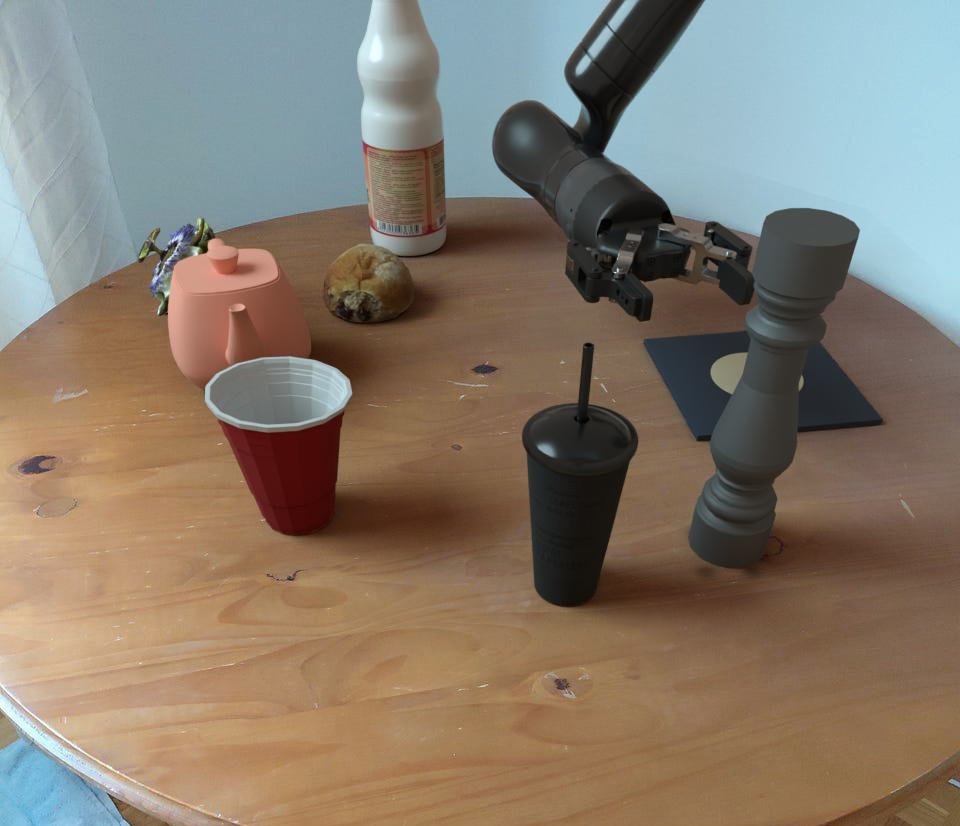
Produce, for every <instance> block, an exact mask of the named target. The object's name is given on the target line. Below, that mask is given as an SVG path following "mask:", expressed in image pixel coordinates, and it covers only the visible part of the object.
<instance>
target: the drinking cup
mask: <svg viewBox="0 0 960 826" xmlns="http://www.w3.org/2000/svg"><path fill="white" fill-rule="evenodd" d="M594 355H595V344H594V343H593V342H589V341H588V342H585V343H583V344H582V355H581V364H580V375H579V376H580V377H579V387H578V388H579V389H578V398H577V399H578V400H577V402H571V403H562V404H561V403H560V404H556V405H552V406H549V407H546V408H542V409H541V410H539V411H537V412H536V413H534V414H533V415H532V416H531V417H530V418H528V420H526V422H525V424H524V426H523V428H522V431H521V432H522V433H521V442H522V446H523V448H524V450H525V452H526V465H527V483H528V502H529V516H530V517H529V518H530V533H531V535H530V536H531V552H532V568H533V586H534V588H535V591H536V593H537V595H538V596H539V597H540V598H542V599H543V601H546V602H548V603H549V604H552V605H555V606H559V607H577V606H580V605H583V604H586V603H587V602H589V601H590V600H591V599H592V598H593V597H594V596H595V594H596V592H597V589H598V585H599V581H600V578H601V574H602V570H603V566H604V562H605V558H606V556H607V555H606V554H607V551H608V547H609V543H610V540H611V536H612V532H613V528H614V524H615V521H616V516H617V513H618V508H619V505H620V500H621V497H622V494H623V490H624V485H625V482H626V477H627V474H628V470H629V466H630V462H631V460H632V459H633V457H634V456H635V455H636V454H637V451H638V447H639V435H638V431H637V429H636V427H635V426H634V425H633V423H632V422H631V421H630V420H629V419H628V418H626V417H625V416H624V415H623V414H620V413H619V412H617V411H615V410H613V409H610V408H607V407H605V406H601V405H596V404H592V403H590V393H591V384H592V383H591V382H592V375H593V374H592V373H593V365H594V364H593V363H594Z"/></svg>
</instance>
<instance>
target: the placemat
mask: <svg viewBox="0 0 960 826" xmlns="http://www.w3.org/2000/svg"><path fill="white" fill-rule="evenodd" d="M750 342H751V338H750V336H749V334H748V333H747V331H746V330H740V331H729V332H715V333H714V332H713V333H704V334H703V333H702V334H689V335H676V336H663V337H651V338H649V337H648V338H643V346H644V348H645V350H646V351H647V353H648V355H649V357H650V358H651V361H652V362H653V365H654V366H655V368H656V370H657V371H658V374H659V375H660V377H661V379H662V380H663V382H664V385H665V386H666V388H667V390H668V392H669V393H670V395H671V397H672V399H673V400H674V402H675V404H676V406H677V408H678V409H679V412H680V413H681V416H682V417H683V418H684V421H685V422H686V424H687V426H688V428H689V430H690V432H691V433H692V435H693V437H694V438H695V441H696V442H700V441H711V437H712V434H713V431H714V428H715V426H716V425H717V423H718V421H719V419H720V417H721V415H722V413H723V411H724V409H725V407H726V406H727V404H728V402H729V400H730V398H731V396H732V394H733V392H734V390H735V388H736V386H737V384H738V382H739V380H740V378H741V376H742V374H743V371H744V366H745V362H746V358H747V354H748V350H749V346H750ZM883 420H884V419H883V417H882V416H881V415H880V414H879V413H878V411H877V410H876V409H875V408H874V406H873V405H872V404H871V403H870V401H869V400H868V399H867V398H866V397H865V396H864V394H863V393H862V391H861V390H859V388H858V387H857V386H856V384H855V383H854V382H853V381H852V379H850V377H849V375H848V374H847V373H845V371H844V369H842V367H841V366H840V365H839V363H837V361H836V360H835V359H834V357H832V355H831V353H829V351H828V350H827V349H826V348H825V346H824V345H823V344H822V343H821V341H820V342H818V343H817V344H816V345H814V346H813V347H812V348H810V349H809V351H808V354H807V358H806V361H805V365H804V368H803V371H802V375H801V378H800V381H799V399H798V429H797V433H800V432H813V431H822V430H823V431H824V430H835V429H845V428H856V427H857V428H858V427H866V426H879V425H882V423H883Z"/></svg>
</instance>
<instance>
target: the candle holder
mask: <svg viewBox="0 0 960 826" xmlns="http://www.w3.org/2000/svg"><path fill="white" fill-rule="evenodd" d="M760 231H761V232H760V234H759V235H760V236H759V241H758V245H757V248H756V253H755V257H754V263H753V266H752V270H751V274H752V275H753V277H754V279H755V282H754V292H755V294H756V302H757V305H755V306H753V308H751V309H750V310H748V311H747V313H746V315H745V317H744V322H743V326H744V328H745V331H747V333H748V334H749V336H750V338H751V342H750V346H749V350H748V354H747V358H746V362H745V366H744V371H743V374H742V376H741V378H740V380H739V382H738V384H737V386H736V388H735V390H734V392H733V394H732V396H731V398H730V400H729V402H728V404H727V406H726V407H725V409H724V411H723V413H722V415H721V417H720V419H719V421H718V423H717V425H716V426H715V428H714V431H713V434H712V437H711V440H709V451H710V454H711V456H712V460H713V463H714V465H715V470H714V471H715V474H713V475H712V476H711V477H710V478H709V479H707V480H706V481H704V485H703V487H702V490H701V494H700V495H699V496H698V498H697V500H696V503H695V506H694V510H693V515H692V519H691V523H690V528H689V532H688V536H687V537H688V542H689V546H690V548H691V550H693V552H694V554H696V555H697V556H698V557H699V558H701V559H702V560H704V561H706V562H708V563H710V564H711V565H715V566H718V567H723V568H727V569H728V568H730V569H731V568H735V569H736V568H745V567H749V566H751V565H754V564H757V562H759V561H760V560H761V559H762V558H763V557H765V554H766V549H767V547H768V543H769V541H770V537H771V534H772V530H773V527H774V524H775V520H776V516H777V514H776V511H775V510H776V506H777V503H778V496H777V493H776V491H775V488H774V486H773V485H774V484H775V481H776V479H777V478H778V477H779V476H781V475H782V474H783V473H784V472H786V470H788V469H789V468H790V466H791V465H792V464H793V462H794V458H795V455H796V451H797V447H798V432H797V429H798V399H799V381H800V378H801V375H802V371H803V368H804V365H805V361H806V358H807V354H808V351H809V349H810V348H812V347H813V346H814V345H816V344H817V343H818V342H820V343H821V341H823V339H824V337H825V334H826V331H827V327H828V325H827V323H826V320H825V319H824V317H823V316H822V314H823V313H824V312H825V311H826V308H827V307H828V306H829V305H830V304H831V303H833V302H834V301H835V299H836V295H837V293H839V292H840V291H841V290H843V288H844V286H845V283H846V278H847V276H848V273H849V269H850V266H851V263H852V260H853V257H854V254H855V249H856V247H857V244H858V240H859V237H860V233H861V229H860V227H859V226H858V225H857V223H856V222H855V221H853V220H851V219H849V218H848V217H846V216H844V215H842V214H840V213H839V214H838V213H835V212H833V211H830V210H825V209H817V208H810V207H790V208H789V207H788V208H784V209H783V208H782V209H779V210H775V211H773V212H771V213H769V214H767V215H766V216H765V219H764V221H763V223H762V227H761V230H760Z"/></svg>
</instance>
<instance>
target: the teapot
mask: <svg viewBox="0 0 960 826" xmlns="http://www.w3.org/2000/svg"><path fill="white" fill-rule="evenodd" d="M207 242H208V252H207V253H205V254H200V255H196V256H192V257H188V258H185V259H183V260H181V261H179V262H177V264H176V265H175V266H174V270H173V274H172V280H171V287H170V294H169V303H168V314H167V328H168V337H169V344H170V348H171V352H172V356H173V358H174V361H175V363H176V365H177V367H178V368H179V370H180V372H181V373H182V374H183V375H184V376H185V378H186V379H187V380H188V381H190V383H192V384H193V385H194V386H195V387H197V388H199V389H203V390H205V386H206V385H207V384H208V383H209V382H210V381H211V379H212V378H213V377H214V376H215V375H216V374H217V373H219V372H221V371H223V370H225V369H227V368H229V367H231V366H233V365H235V364H237V363H241V362H246V361H250V360H254V359H259V358H266V357H297V358H304V359H310V358H309V357H310V355H311V352H312V341H311V340H312V339H311V333H310V329H309V325H308V321H307V317H306V314H305V312H304V308H303V305H302V304H301V301H300V299H299V297H298V295H297V293H296V291H295V288H294V287H293V285H292V283H291V282H290V280H289V278H288V277H287V275H286V274H285V272H284V270H283V268H282V267H281V266H280V264H279V262H278V261H277V260H276V258H275V257H274V255H273V254H272V253H271V252H270V251H268V250H266V249H262V248H236V247H235V246H231V245H227V244H226V242H225V241H224V240H222V239H221V238H216V239H212V240H208V241H207Z"/></svg>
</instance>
